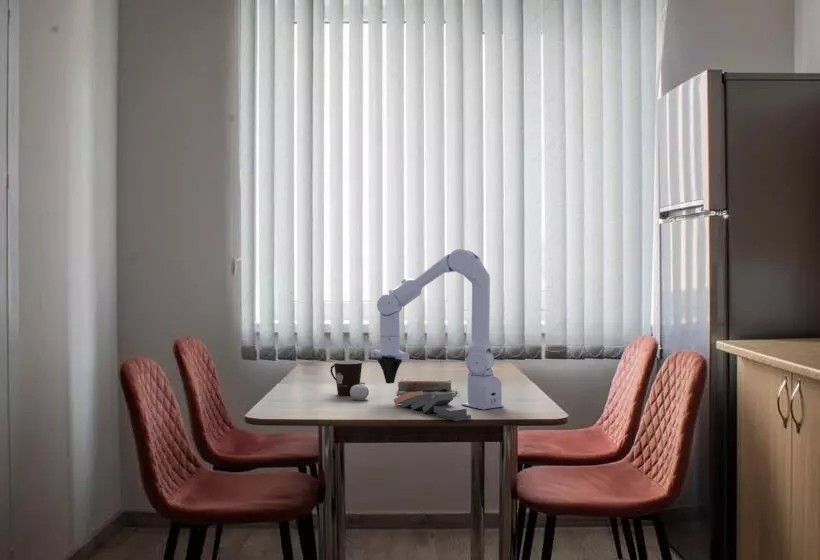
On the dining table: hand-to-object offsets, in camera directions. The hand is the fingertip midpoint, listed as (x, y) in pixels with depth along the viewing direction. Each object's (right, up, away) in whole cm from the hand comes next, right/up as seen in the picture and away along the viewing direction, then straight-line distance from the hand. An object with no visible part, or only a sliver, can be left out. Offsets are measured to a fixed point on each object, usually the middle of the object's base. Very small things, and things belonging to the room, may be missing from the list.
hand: (390, 383), depth 213 cm
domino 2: (+5, -5, -8) cm, 11 cm away
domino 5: (+14, -4, -21) cm, 26 cm away
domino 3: (+8, -5, -12) cm, 15 cm away
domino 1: (+3, -4, -5) cm, 8 cm away
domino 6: (+15, -5, -21) cm, 26 cm away
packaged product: (+11, -6, +14) cm, 19 cm away
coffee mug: (-14, -6, +14) cm, 20 cm away
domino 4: (+11, -5, -18) cm, 21 cm away
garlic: (-9, -6, +3) cm, 11 cm away
